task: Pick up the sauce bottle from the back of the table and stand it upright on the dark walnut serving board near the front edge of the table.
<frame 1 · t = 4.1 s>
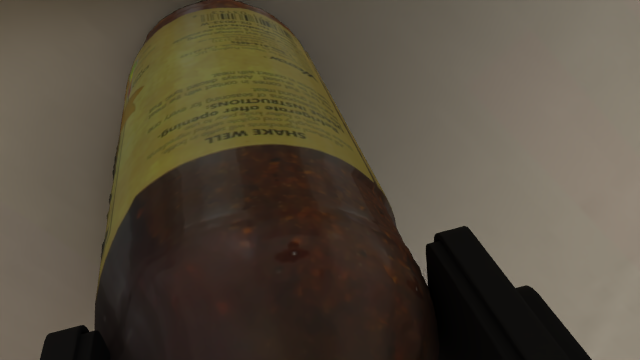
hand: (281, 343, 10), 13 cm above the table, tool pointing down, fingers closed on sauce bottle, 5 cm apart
sauce bottle: (226, 81, 21), on the table, touching gripper
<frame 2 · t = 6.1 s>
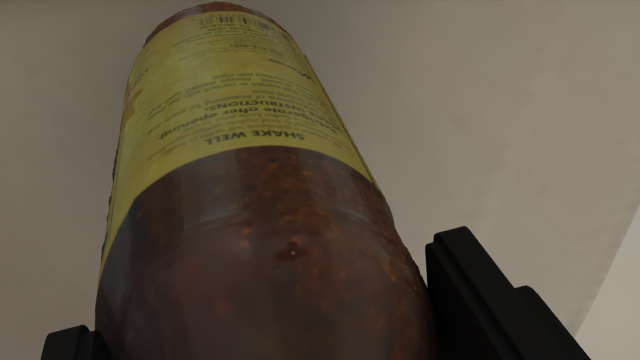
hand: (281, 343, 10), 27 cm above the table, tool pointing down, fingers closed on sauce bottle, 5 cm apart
sauce bottle: (225, 84, 21), point 14 cm above the table, touching gripper
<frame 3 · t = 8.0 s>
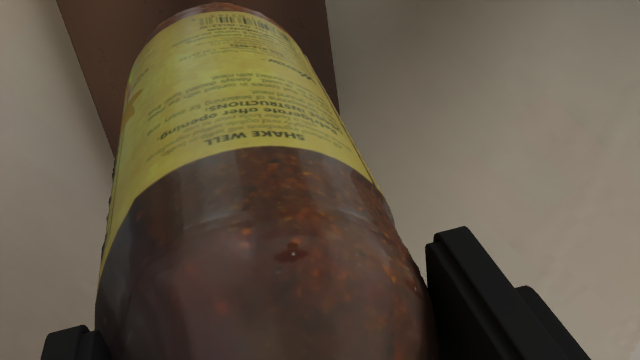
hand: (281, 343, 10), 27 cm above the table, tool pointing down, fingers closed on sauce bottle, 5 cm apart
sauce bottle: (225, 85, 21), point 14 cm above the table, touching gripper
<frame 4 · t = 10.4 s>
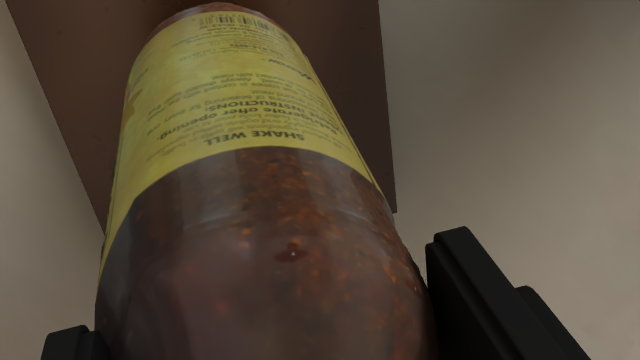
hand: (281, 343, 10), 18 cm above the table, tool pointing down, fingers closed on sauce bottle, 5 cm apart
sauce bottle: (225, 85, 21), point 5 cm above the table, touching gripper
serving board: (215, 45, 25), on the table
when the fingers open (14 cm above the table, at t = 11.9 s): sauce bottle stays where it is, resting on serving board.
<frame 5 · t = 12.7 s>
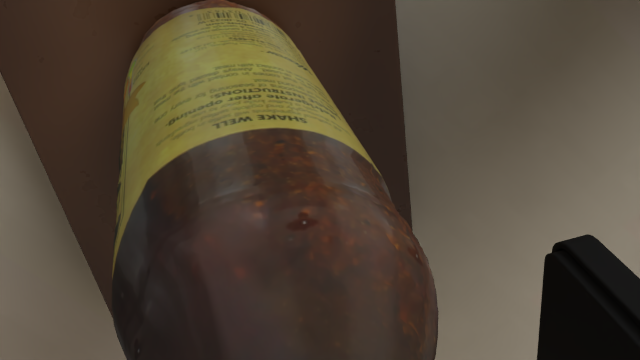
sauce bottle: (220, 80, 22), point 1 cm above the table, touching serving board
serving board: (215, 70, 23), on the table
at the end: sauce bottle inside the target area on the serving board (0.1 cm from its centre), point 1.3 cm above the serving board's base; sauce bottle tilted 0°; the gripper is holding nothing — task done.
